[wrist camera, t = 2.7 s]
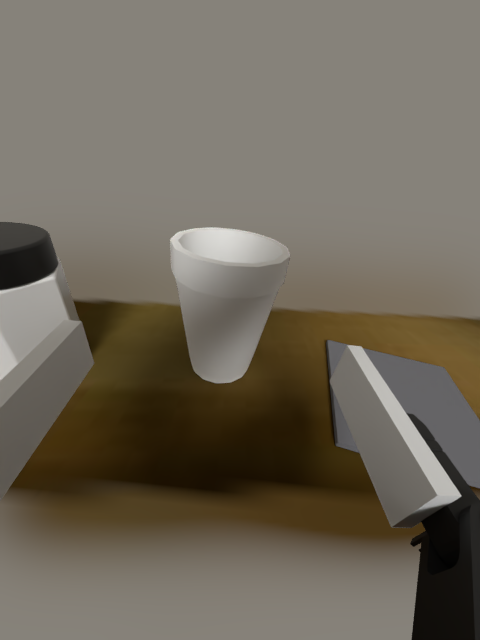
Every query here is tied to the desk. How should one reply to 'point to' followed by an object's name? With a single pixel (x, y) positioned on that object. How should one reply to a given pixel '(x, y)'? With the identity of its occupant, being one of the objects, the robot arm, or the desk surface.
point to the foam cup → (225, 295)
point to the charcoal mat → (420, 407)
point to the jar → (29, 292)
